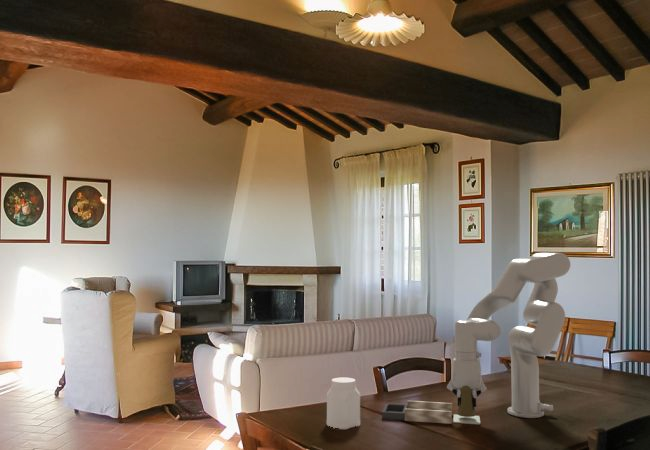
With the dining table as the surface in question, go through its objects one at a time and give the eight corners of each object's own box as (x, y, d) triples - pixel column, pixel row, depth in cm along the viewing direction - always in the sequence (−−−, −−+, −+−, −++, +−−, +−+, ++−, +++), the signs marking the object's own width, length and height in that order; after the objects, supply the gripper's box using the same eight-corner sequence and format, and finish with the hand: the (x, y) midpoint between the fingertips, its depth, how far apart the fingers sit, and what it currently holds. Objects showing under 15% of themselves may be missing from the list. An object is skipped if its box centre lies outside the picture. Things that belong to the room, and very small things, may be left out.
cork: (475, 417, 201) (475, 385, 201) (457, 416, 202) (457, 384, 203) (475, 412, 207) (474, 381, 207) (457, 411, 208) (457, 380, 208)
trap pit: (407, 411, 215) (407, 404, 215) (404, 420, 203) (404, 413, 203) (386, 410, 217) (386, 403, 217) (381, 419, 205) (381, 411, 205)
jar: (339, 430, 191) (339, 384, 192) (321, 424, 199) (321, 379, 199) (365, 424, 199) (365, 379, 199) (346, 418, 206) (346, 375, 207)
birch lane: (452, 414, 211) (452, 403, 211) (451, 423, 199) (451, 411, 200) (407, 411, 215) (407, 400, 215) (404, 420, 203) (404, 409, 203)
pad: (479, 417, 208) (479, 415, 208) (480, 424, 199) (480, 423, 199) (453, 415, 210) (453, 414, 210) (453, 422, 201) (453, 421, 201)
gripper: (490, 354, 207) (490, 407, 206) (442, 353, 211) (443, 404, 210) (491, 358, 200) (492, 412, 199) (441, 356, 203) (442, 410, 203)
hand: (466, 408), depth 204 cm, fingers closed on cork, 3 cm apart
